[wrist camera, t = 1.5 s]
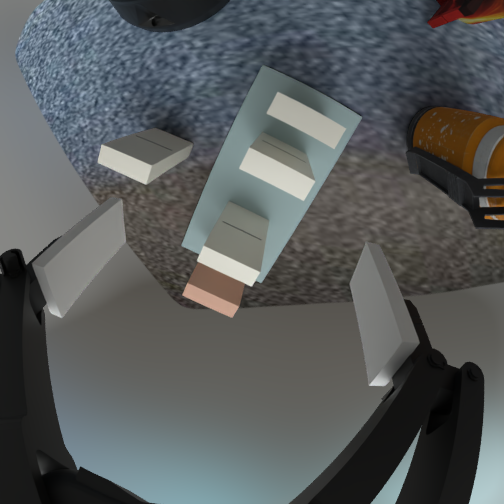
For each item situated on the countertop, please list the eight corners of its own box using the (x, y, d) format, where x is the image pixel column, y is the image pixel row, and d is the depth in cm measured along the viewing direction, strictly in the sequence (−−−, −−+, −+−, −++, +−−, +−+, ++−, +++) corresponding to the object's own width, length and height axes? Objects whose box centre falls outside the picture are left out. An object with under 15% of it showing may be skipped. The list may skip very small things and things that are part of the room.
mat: (263, 65, 25) (262, 64, 25) (361, 117, 26) (362, 117, 26) (182, 244, 38) (181, 245, 37) (261, 281, 39) (261, 283, 39)
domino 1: (155, 127, 30) (101, 144, 20) (193, 143, 30) (152, 165, 21) (150, 141, 31) (97, 162, 21) (188, 157, 31) (146, 184, 22)
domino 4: (262, 131, 29) (249, 147, 19) (306, 154, 29) (315, 180, 20) (255, 146, 30) (238, 168, 20) (299, 168, 30) (303, 201, 21)
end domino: (214, 231, 36) (187, 282, 26) (253, 249, 36) (239, 306, 27) (209, 242, 37) (182, 295, 27) (247, 260, 37) (231, 317, 28)
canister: (468, 168, 27) (575, 244, 9) (398, 188, 30) (490, 291, 13) (455, 100, 23) (581, 131, 6) (380, 117, 26) (493, 152, 9)
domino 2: (228, 200, 33) (203, 245, 24) (269, 220, 34) (260, 272, 25) (222, 213, 34) (196, 261, 25) (262, 232, 35) (251, 286, 25)
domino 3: (281, 95, 26) (277, 91, 17) (326, 119, 27) (346, 128, 18) (273, 110, 27) (266, 113, 18) (318, 133, 28) (334, 149, 18)
